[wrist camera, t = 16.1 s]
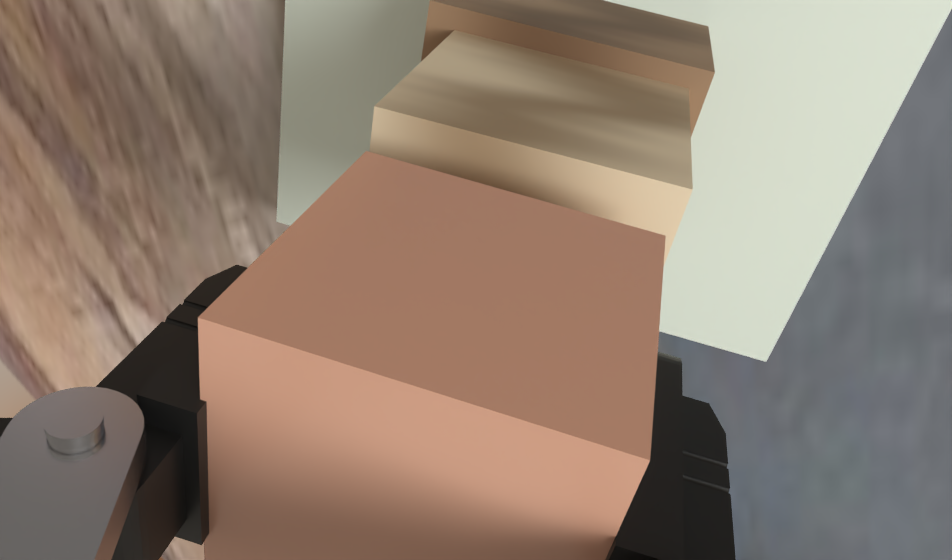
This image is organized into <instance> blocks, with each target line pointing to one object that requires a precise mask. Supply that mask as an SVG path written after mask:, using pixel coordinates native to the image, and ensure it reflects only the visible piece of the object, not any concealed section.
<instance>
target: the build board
mask: <svg viewBox="0 0 952 560" xmlns="http://www.w3.org/2000/svg"><path fill="white" fill-rule="evenodd" d="M604 1H608V2H612V3H616V4H620V5H624V6H628V7H632V8H636V9H641V10H645V11H649V12H653V13H657V14H661V15H665V16H669V17H673V18H677V19H681V20H685V21H689V22H693V23H697V24H701V25H705V26H708V27H709V34H710V41H711V48H712V55H713V62H714V69H715V74H714V77H713V79H712V82H711V85H710V87H709V90H708V93H707V95H706V98H705V101H704V104H703V106H702V109H701V112H700V114H699V117H698V120H697V122H696V125H695V128H694V131H693V133H692V136H691V157H692V182H693V190H692V193H691V196H690V198H689V201H688V204H687V206H686V209H685V211H684V214H683V217H682V219H681V222H680V225H679V227H678V230H677V232H676V235H675V238H674V240H673V243H672V246H671V248H670V251H669V253H668V256H667V259H666V261H665V264H664V267H663V281H662V296H661V310H660V325H659V331H661V332H664V333H668V334H671V335H675V336H678V337H682V338H685V339H689V340H692V341H696V342H699V343H703V344H706V345H709V346H713V347H716V348H720V349H723V350H727V351H730V352H734V353H737V354H741V355H744V356H748V357H751V358H755V359H758V360H762V361H765V362H766V361H767V359H768V357H769V355H770V354H771V352H772V350H773V348H774V346H775V344H776V342H777V340H778V338H779V336H780V334H781V333H782V331H783V329H784V327H785V325H786V323H787V321H788V319H789V317H790V315H791V314H792V312H793V310H794V308H795V306H796V304H797V302H798V300H799V298H800V296H801V294H802V293H803V291H804V289H805V287H806V285H807V283H808V281H809V279H810V277H811V275H812V274H813V272H814V270H815V268H816V266H817V264H818V262H819V260H820V258H821V256H822V254H823V253H824V251H825V249H826V247H827V245H828V243H829V241H830V239H831V237H832V235H833V234H834V232H835V230H836V228H837V226H838V224H839V222H840V220H841V218H842V216H843V214H844V213H845V211H846V209H847V207H848V205H849V203H850V201H851V199H852V197H853V195H854V194H855V192H856V190H857V188H858V186H859V184H860V182H861V180H862V178H863V176H864V174H865V173H866V171H867V169H868V167H869V165H870V163H871V161H872V159H873V157H874V155H875V154H876V152H877V150H878V148H879V146H880V144H881V142H882V140H883V138H884V136H885V134H886V133H887V131H888V129H889V127H890V125H891V123H892V121H893V119H894V117H895V115H896V114H897V112H898V110H899V108H900V106H901V104H902V102H903V100H904V98H905V96H906V94H907V93H908V91H909V89H910V87H911V85H912V83H913V81H914V79H915V77H916V75H917V74H918V72H919V70H920V68H921V66H922V64H923V62H924V60H925V58H926V56H927V54H928V53H929V51H930V49H931V47H932V45H933V43H934V41H935V39H936V37H937V35H938V34H939V32H940V30H941V28H942V26H943V24H944V22H945V20H946V18H947V16H948V14H949V13H950V11H951V9H952V0H604ZM429 2H430V0H285V19H284V44H283V69H282V95H281V120H280V145H279V171H278V196H277V221H276V222H279V223H283V224H286V225H290V226H291V225H292V224H293V223H294V222H295V221H296V220H297V219H298V218H299V217H300V216H301V215H302V214H303V213H304V212H305V211H306V210H307V209H308V208H309V207H310V206H311V205H312V204H313V203H314V202H315V201H316V200H317V199H318V198H319V197H320V196H321V195H322V194H323V193H324V192H325V191H326V190H327V189H328V188H329V187H330V186H331V185H332V184H333V183H334V182H335V181H336V180H337V179H338V178H339V177H340V176H341V175H342V174H343V173H344V172H345V171H346V170H347V169H348V168H349V167H350V166H351V165H352V164H353V163H354V162H355V161H356V160H357V159H358V158H359V157H360V156H361V155H362V154H363V153H364V152H365V151H368V152H369V151H370V141H371V132H372V122H373V113H374V106H375V105H376V104H377V103H378V102H379V101H380V100H381V99H382V98H383V97H384V96H386V95H387V94H388V93H389V92H390V91H391V90H392V89H393V88H394V87H395V86H396V85H397V84H398V83H399V82H400V81H401V80H402V79H403V78H405V77H406V76H407V75H408V74H409V73H410V72H411V71H412V70H413V69H414V68H415V67H416V66H417V65H418V64H419V63H420V62H421V57H422V50H423V44H424V37H425V30H426V23H427V16H428V9H429Z"/></svg>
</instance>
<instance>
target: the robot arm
mask: <svg viewBox="0 0 952 560" xmlns="http://www.w3.org/2000/svg"><path fill="white" fill-rule="evenodd" d="M246 269H247V268H246V267H243V266H239V265H235V266H233V267H231V268H229V269H227V270H224V271H222V272H220V273H218V274H215V275H213V276H211V277H209V278H207V279H205V280H204V281H203V282H202V283H201V284H200V285H199V286H198V287H197V288H196V289H195V290H194V291H193V292H192V293H191V294H190V295H189V296H188V297H187V298H186V299H185V300H184V303H183V305H181V304H180V305H178V306H177V307H176V308H175V309H174V310H173V311H172V312H171V313H170V314H169V315H168V316H167V318H166V321H165V322H161V323H160V324H159V325H158V326H157V327H156V328H155V329H154V330H153V331H152V332H151V333H150V334H149V335H148V336H147V337H146V338H145V339H144V340H143V341H142V342H141V343H140V344H139V345H138V346H137V347H136V348H135V349H134V350H133V351H132V352H131V353H130V354H129V355H128V356H127V357H126V358H125V359H124V360H123V361H122V362H120V363H119V364H118V365H117V366H116V367H115V368H114V369H113V370H112V371H111V372H110V373H109V374H108V375H107V376H106V377H105V378H104V379H103V380H102V381H101V382H100V383H99V384H98V385H97V386H96V387H77V388H70V389H65V390H61V391H57V392H54V393H51V394H48V395H46V396H44V397H41V398H39V399H37V400H36V401H34V402H32V403H30V404H29V405H27V406H26V407H25V408H23V409H22V410H21V411H20V412H19V413H18V414H17V415H15V416H14V418H0V560H158V559H159V558H160V557H161V555H162V554H163V552H164V551H165V550H166V548H167V547H168V545H169V544H170V542H171V541H172V539H173V538H174V537H175V536H176V537H179V538H182V539H185V540H188V541H191V542H194V543H197V544H200V545H202V544H203V542H204V541H205V539H206V538H207V536H208V535H209V494H208V446H207V401H204V400H201V399H200V378H199V343H198V317H199V316H200V315H201V314H202V313H203V312H204V311H205V310H206V309H207V308H208V307H209V306H210V305H211V304H212V303H213V302H214V301H215V300H216V299H217V298H218V297H219V296H220V295H221V294H222V293H223V292H224V291H225V290H226V289H227V288H228V287H229V286H230V285H231V284H232V283H233V282H234V281H235V280H236V279H237V278H238V277H239V276H240V275H241V274H242V273H243V272H244V271H245V270H246ZM727 464H728V458H727V445H726V433H725V431H724V430H723V428H722V426H721V424H720V423H719V421H718V419H717V417H716V415H715V414H714V412H713V410H712V408H711V406H710V405H709V403H706V402H702V401H699V400H695V399H692V398H688V397H685V396H682V361H681V359H680V358H677V357H674V356H671V355H667V354H664V353H660V352H658V354H657V368H656V383H655V397H654V412H653V426H652V441H651V455H650V462H649V464H648V466H647V469H646V471H645V473H644V475H643V477H642V480H641V482H640V484H639V486H638V488H637V491H636V493H635V495H634V497H633V499H632V502H631V504H630V506H629V508H628V510H627V513H626V515H625V517H624V519H623V522H622V524H621V526H620V528H619V530H618V533H617V535H616V537H615V539H614V541H613V544H612V546H611V548H610V550H609V552H608V555H607V557H606V559H605V560H735V547H734V535H733V522H732V509H731V496H730V494H729V489H730V483H729V471H728V469H727Z"/></svg>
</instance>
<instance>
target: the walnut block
mask: <svg viewBox="0 0 952 560" xmlns="http://www.w3.org/2000/svg"><path fill="white" fill-rule="evenodd" d="M454 30H456V31H460V32H464V33H468V34H472V35H476V36H480V37H484V38H488V39H492V40H496V41H500V42H504V43H508V44H512V45H516V46H520V47H524V48H528V49H532V50H536V51H540V52H544V53H548V54H552V55H556V56H560V57H564V58H568V59H572V60H576V61H580V62H584V63H588V64H592V65H596V66H600V67H604V68H608V69H612V70H616V71H620V72H624V73H628V74H632V75H636V76H640V77H644V78H648V79H652V80H656V81H660V82H664V83H669V84H673V85H677V86H681V87H685V88H689V106H690V131H691V136H692V133H693V131H694V128H695V125H696V122H697V120H698V117H699V114H700V112H701V109H702V106H703V104H704V101H705V98H706V95H707V93H708V90H709V87H710V85H711V82H712V79H713V77H714V74H715V69H714V62H713V55H712V48H711V41H710V34H709V27H708V26H705V25H701V24H697V23H693V22H689V21H685V20H681V19H677V18H673V17H669V16H665V15H661V14H657V13H653V12H649V11H645V10H641V9H636V8H632V7H628V6H624V5H620V4H616V3H612V2H608V1H604V0H430V2H429V9H428V16H427V23H426V30H425V37H424V44H423V50H422V57H421V61H422V60H423V59H425V58H426V57H427V56H428V55H429V54H430V53H431V52H432V51H433V50H434V49H435V48H436V47H437V46H438V45H439V44H440V43H441V42H442V41H444V40H445V39H446V38H447V37H448V36H449V35H450V34H451V33H452V32H453V31H454Z"/></svg>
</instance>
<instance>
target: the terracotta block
mask: <svg viewBox="0 0 952 560" xmlns="http://www.w3.org/2000/svg"><path fill="white" fill-rule="evenodd" d="M665 238H666V236H665V235H662V234H658V233H655V232H651V231H648V230H644V229H640V228H637V227H633V226H630V225H626V224H623V223H619V222H616V221H612V220H609V219H605V218H602V217H598V216H594V215H591V214H587V213H584V212H580V211H577V210H573V209H570V208H566V207H563V206H559V205H556V204H552V203H549V202H545V201H541V200H538V199H534V198H531V197H527V196H524V195H520V194H517V193H513V192H510V191H506V190H503V189H499V188H495V187H492V186H488V185H485V184H481V183H478V182H474V181H471V180H467V179H464V178H460V177H457V176H453V175H450V174H446V173H442V172H439V171H435V170H432V169H428V168H425V167H421V166H418V165H414V164H411V163H407V162H404V161H400V160H396V159H393V158H389V157H386V156H382V155H379V154H375V153H372V152H368V151H365V152H364V153H363V154H362V155H361V156H360V157H359V158H358V159H357V160H356V161H355V162H354V163H353V164H352V165H351V166H350V167H349V168H348V169H347V170H346V171H345V172H344V173H343V174H342V175H341V176H340V177H339V178H338V179H337V180H336V181H335V182H334V183H333V184H332V185H331V186H330V187H329V188H328V189H327V190H326V191H325V192H324V193H323V194H322V195H321V196H320V197H319V198H318V199H317V200H316V201H315V202H314V203H313V204H312V205H311V206H310V207H309V208H308V209H307V210H306V211H305V212H304V213H303V214H302V215H301V216H300V217H299V218H298V219H297V220H296V221H295V222H294V223H293V224H292V225H291V226H290V227H289V228H288V229H287V230H286V231H285V232H284V233H283V234H282V235H281V236H280V237H279V238H278V239H277V240H276V241H275V242H274V243H273V244H272V245H271V246H270V247H269V248H267V249H266V250H265V251H264V252H263V253H262V254H261V255H260V256H259V257H258V258H257V259H256V260H255V261H254V262H253V263H252V264H251V265H250V266H249V267H248V268H247V269H246V270H245V271H244V272H243V273H242V274H241V275H240V276H239V277H238V278H237V279H236V280H235V281H234V282H233V283H232V284H231V285H230V286H229V287H228V288H227V289H226V290H225V291H224V292H223V293H222V294H221V295H220V296H219V297H218V298H217V299H216V300H215V301H214V302H213V303H212V304H211V305H210V306H209V307H208V308H207V309H206V310H205V311H204V312H203V313H202V314H201V315H200V316H199V317H198V343H199V378H200V399H201V400H204V401H207V446H208V494H209V535H208V536H207V538H206V539H205V541H204V555H205V560H605V559H606V557H607V555H608V552H609V550H610V548H611V546H612V544H613V541H614V539H615V537H616V535H617V533H618V530H619V528H620V526H621V524H622V522H623V519H624V517H625V515H626V513H627V510H628V508H629V506H630V504H631V502H632V499H633V497H634V495H635V493H636V491H637V488H638V486H639V484H640V482H641V480H642V477H643V475H644V473H645V471H646V469H647V466H648V464H649V462H650V455H651V441H652V426H653V412H654V397H655V383H656V368H657V354H658V339H659V325H660V310H661V296H662V281H663V267H664V252H665Z"/></svg>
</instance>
